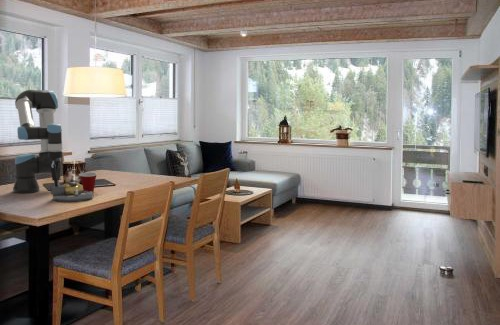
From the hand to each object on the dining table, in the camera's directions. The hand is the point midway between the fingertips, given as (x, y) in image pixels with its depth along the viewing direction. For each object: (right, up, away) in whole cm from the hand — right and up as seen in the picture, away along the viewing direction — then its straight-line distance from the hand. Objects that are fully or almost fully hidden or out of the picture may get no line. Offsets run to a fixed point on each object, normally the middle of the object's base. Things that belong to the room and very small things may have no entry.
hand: (57, 191), depth 272 cm
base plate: (+8, -4, +3) cm, 10 cm away
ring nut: (+6, -1, +1) cm, 6 cm away
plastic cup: (+11, -2, +22) cm, 25 cm away
